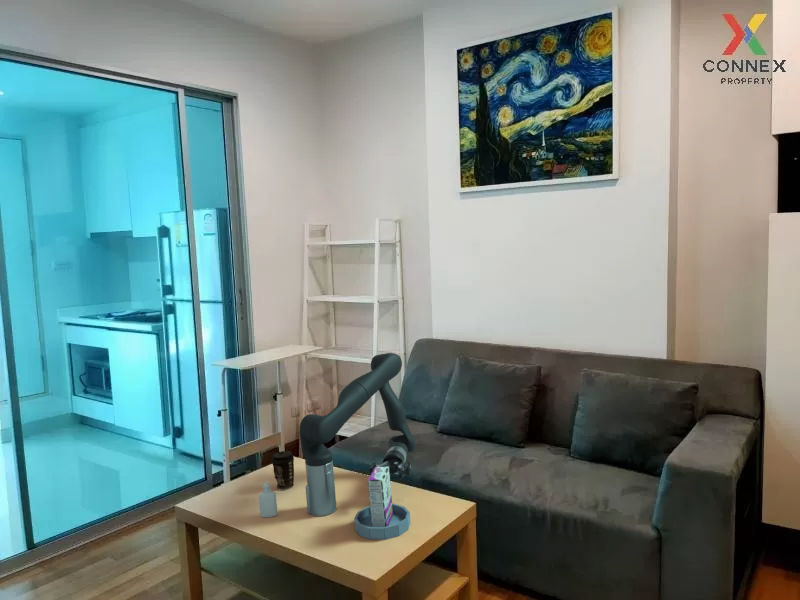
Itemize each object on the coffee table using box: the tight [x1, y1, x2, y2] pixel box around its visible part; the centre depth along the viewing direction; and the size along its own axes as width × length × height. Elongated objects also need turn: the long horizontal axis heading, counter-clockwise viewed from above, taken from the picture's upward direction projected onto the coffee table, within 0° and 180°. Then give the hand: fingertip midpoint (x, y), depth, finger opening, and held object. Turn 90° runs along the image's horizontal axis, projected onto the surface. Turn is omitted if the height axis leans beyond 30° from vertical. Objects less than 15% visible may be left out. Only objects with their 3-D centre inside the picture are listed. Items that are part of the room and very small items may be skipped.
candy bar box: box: [367, 467, 393, 527], centre depth 186 cm, size 11×5×16 cm, turn 170°
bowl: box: [353, 503, 411, 540], centre depth 186 cm, size 17×17×4 cm
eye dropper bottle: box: [258, 480, 278, 518], centre depth 199 cm, size 4×6×12 cm
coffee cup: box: [270, 450, 295, 491], centre depth 223 cm, size 9×8×13 cm
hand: (386, 477), depth 196 cm, fingers open, 8 cm apart
